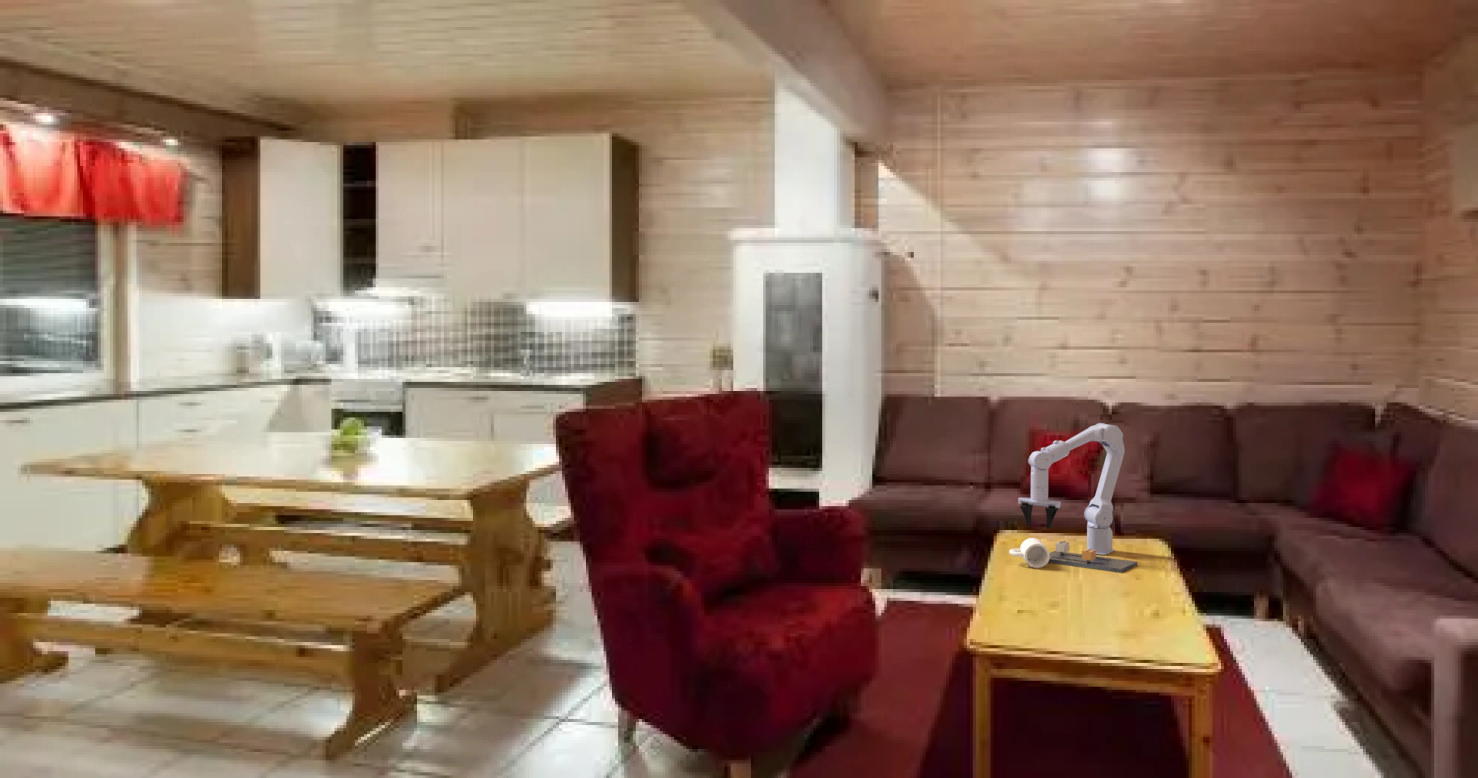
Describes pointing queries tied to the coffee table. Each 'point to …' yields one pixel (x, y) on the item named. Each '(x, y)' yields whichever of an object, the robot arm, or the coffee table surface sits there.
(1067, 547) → the cream fader
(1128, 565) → the mixer board
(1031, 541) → the mug
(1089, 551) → the orange fader
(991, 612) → the coffee table surface
